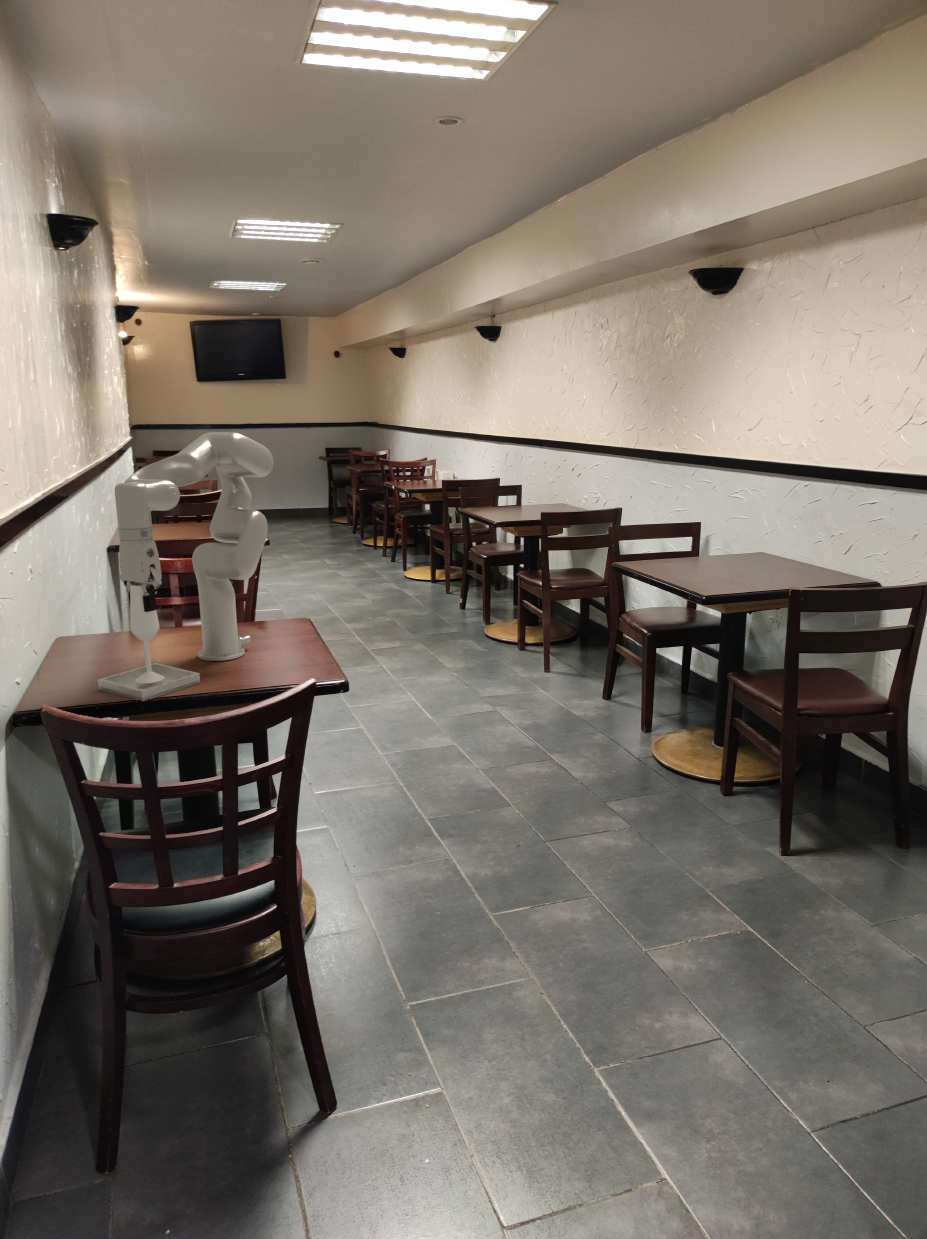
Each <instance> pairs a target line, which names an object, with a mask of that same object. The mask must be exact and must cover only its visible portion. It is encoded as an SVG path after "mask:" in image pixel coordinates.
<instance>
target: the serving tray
mask: <svg viewBox="0 0 927 1239" xmlns="http://www.w3.org/2000/svg"><path fill="white" fill-rule="evenodd" d="M151 668H152V671H153V672H155V673H157V674H160V675H162V676H164V679H162V680H160V681H157V682H152V683H139V682H137V681H136V679H137V678H139V677H140V676H141V675H143V674H144V673H146V672H147V669H146V665H144V666H141V667H136V668H133V669H129V670H128V671H123V672H119V673H117V674H116V673H115V674H112V675H109V676H105V677H102V678H98V679H97V685H98V686H97V688H98V690H100V691H103V692H105V693H106V692H107V693H111V694H113V695H118V696H121V695H122V696H121V697H124V696H126V697H125V698H128V697H130V698H129V699H131V698H134V699H133V700H135V699H138V700H141V701H140V702H142V701H143V702H145V700H146V701H148V699H149V700H152V699H155V698H158V696H159V697H161V696H165V695H167V693H168V694H170V693H173V692H177V691H179V690H182V689H186V688H190V687H192V686H195V685H197V684H201V676H200V674H201V673H200V672H195V671H191V670H187V669H183V668H179V667H174V666H171V665H166V664H161V663H158V662H155V663H151ZM154 697H155V698H154ZM138 700H137V701H138Z"/></svg>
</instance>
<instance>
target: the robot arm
mask: <svg viewBox="0 0 927 1239" xmlns="http://www.w3.org/2000/svg"><path fill="white" fill-rule="evenodd" d="M214 469H215V470H216V472H217V475H218V478H219V481H220V486H221V491H220V492H221V493H220V496H219V499H218V502H217V505H216V508H215V510H214V512H213V516H212V519H211V522H210V526H209V532H210V535H211V537H212V538H213V539H214V540H215V541H217V542H205V543H202V544H199V545H198V546H197V547H195V549H194V551H193V553H192V556H191V558H192V559H191V562H192V567H193V571H194V574H195V578H196V583H197V590H198V600H199V614H200V626H201V637H202V638H201V640H202V649H200V650H199V651H198V652H197V658H198V659H199V660H201V661H208V662H222V661H230V660H235V659H239V658H241V657H242V656H243V655H245V649H244V648H243V645H244V644H247V643H250V642H252V638H251V636H250V635H245V636H243V637H241V636H240V635H239V634H238V623H237V622H238V620H237V619H238V618H237V606H236V605H237V604H236V593H235V589H234V587H233V585H232V583H231V581H230V580H236V581H237V580H238V581H239V580H240V581H242V580H243V581H244V580H249V579H250V578H251V577H252V576H253V575H254V573H255V571H256V570H257V567H258V563H259V562H260V559H261V555H262V552H263V549H264V547H265V544H266V540H267V537H268V533H269V532H268V531H269V530H268V529H269V528H268V520H267V518H266V516H265V514H263V513H262V512H261V511H259V510H256V509H250V508H251V504H252V500H253V499H252V498H253V495H252V492H251V490H250V487H249V486H248V484H247V483H246V481H245V478H264V477H267V476H268V475H270V473H271V472H272V471H273V469H274V457H273V455H272V453H271V451H270V450H269V448H267V447H266V446H265V445H263V444H261V443H260V442H257V441H256V440H253V439H252V438H250V437H248V436H246V435H244V434H241V433H239V432H227V431H225V432H224V431H223V432H222V431H221V432H215V431H212V432H206V433H203V434H202V435H200V436H198V438H196V439H195V440H193V441H192V442H191V443H190V444H188V445H187V446H185V447H184V448H182V450H180V451H179V452H177V453H176V454H174V455H171V456H168V457H166V458H163V459H161V460H158V461H155V462H153V463H150V464H147V465H145V466H143V467H140V469H138V470H137V471H135V472H134V473H133V474H131V475H130V476H129V477H127V479H125V480H124V482H121V483H117V484H116V485H115V486H114V497H115V509H116V518H117V528H118V536H119V538H118V539H119V546H118V550H119V551H118V554H119V555H118V559H119V572H120V574H119V579H120V580H121V582H122V583H123V585H124V586H125V588H126V590H125V591H126V593H127V594H128V604H129V607H130V584H132V583H142V587H143V591H144V596H143V604H144V611H145V612H149V611H154V610H156V611H157V608H158V606H157V597H156V595H157V594H158V589H159V588H160V586H161V585H162V584H163V583H162V582H163V581H162V579H163V578H162V568H161V562H160V560H161V559H160V557H159V556H160V555H159V551H158V548H157V547H158V546H157V544H156V541H155V540H154V536H153V521H152V513H151V512H152V511H161V512H164V511H169V510H171V509H174V508H175V507H176V506H177V505H178V504H179V501H180V498H181V493H180V490H179V487H180V488H181V487H185V486H190V485H193V484H196V483H198V482H200V481H201V480H202V479H204V478H205V477H206V476H207V475H208V474H209V473H211V471H213V470H214ZM149 584H150V586H149V588H148V587H147V585H149ZM238 635H239V636H238Z"/></svg>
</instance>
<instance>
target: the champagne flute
mask: <svg viewBox="0 0 927 1239" xmlns="http://www.w3.org/2000/svg"><path fill="white" fill-rule="evenodd" d="M149 586H150V584H149V585H147V587H148V588H149ZM143 596H144V591H143V587H142V583H132V584H130V606H129V611H130V612H129V613H130V615H129V617H130V621H129V624H130V626H129V629H130V632H131V633H132V634H133V636H135V637H136V638H137V639H138V640H139V641H142V642H143V645H144V646H143V648H144V656H145V666H146V669H147V672H146V673H144V674H143V675H141V676H140V677H139V678H137V679H136V681H137V682H139V683H152V682H157V681H160V680H162V679H164V676H162V675H160V674H157V673H155V672H153V671H152V668H151V664H152V660H151V649H150V641H151V640H152V639H153V638H154V637H155V636H156V635H157V634H158V632H159V630H160V622H159V617H158V612H157V609H156V610H154V611H149V612H145V611H144V604H143Z"/></svg>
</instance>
